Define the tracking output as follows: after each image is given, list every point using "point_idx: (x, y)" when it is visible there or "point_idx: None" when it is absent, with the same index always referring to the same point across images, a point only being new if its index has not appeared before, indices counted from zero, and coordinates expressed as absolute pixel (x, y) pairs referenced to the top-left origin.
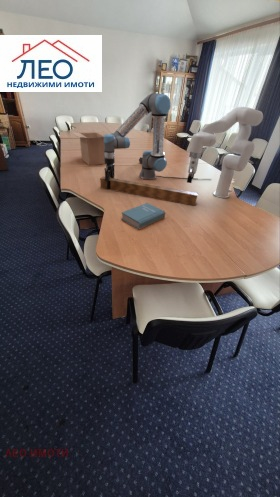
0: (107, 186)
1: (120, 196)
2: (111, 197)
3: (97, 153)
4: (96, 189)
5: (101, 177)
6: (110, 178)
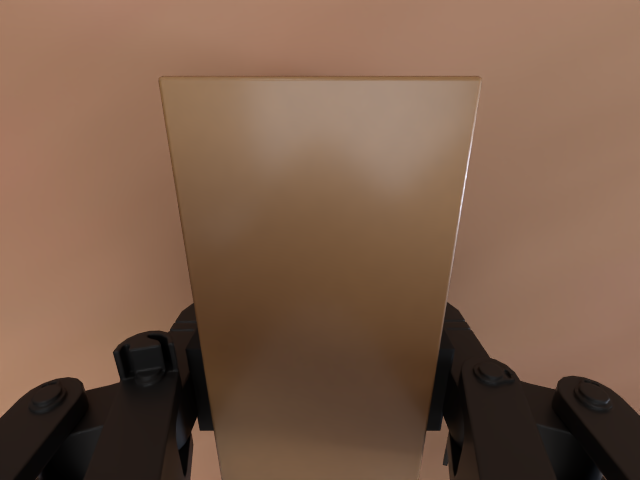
0: None
1: None
2: None
3: None
4: (124, 46)
5: (280, 88)
6: (347, 429)
